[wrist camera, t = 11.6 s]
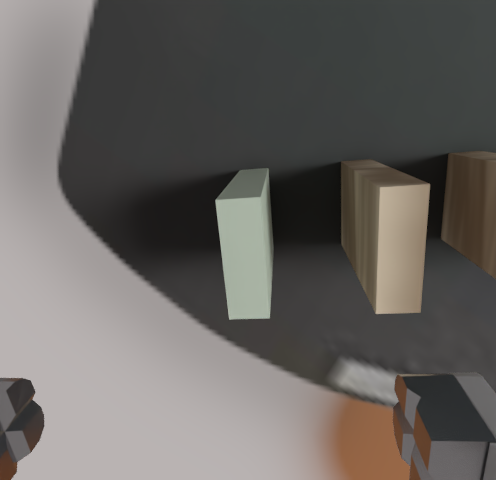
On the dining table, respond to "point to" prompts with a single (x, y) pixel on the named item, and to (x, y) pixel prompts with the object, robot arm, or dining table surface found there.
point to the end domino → (247, 243)
